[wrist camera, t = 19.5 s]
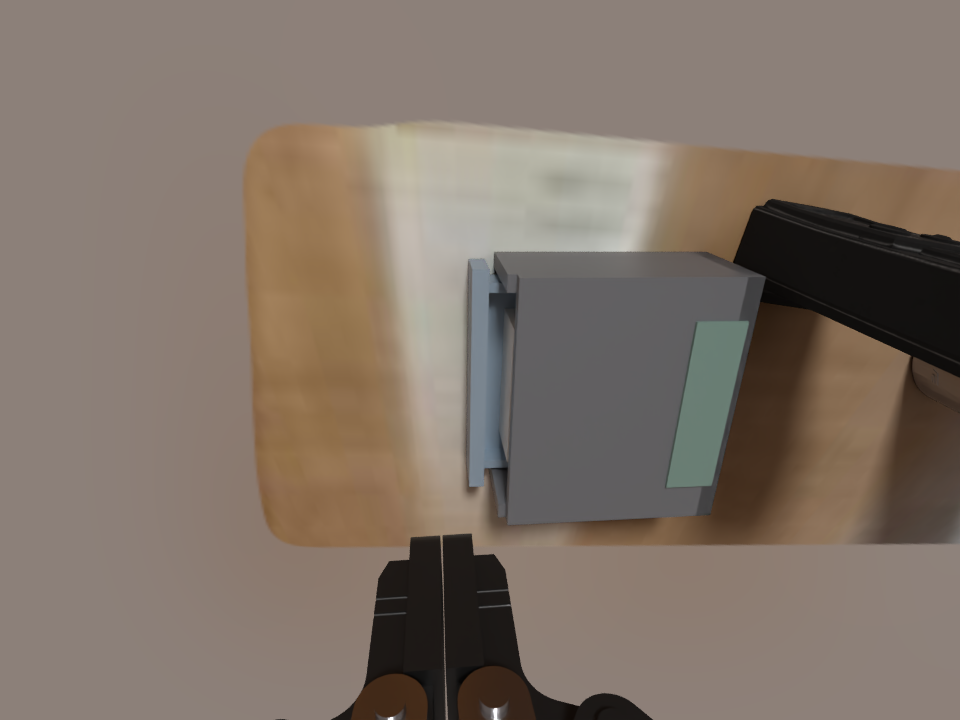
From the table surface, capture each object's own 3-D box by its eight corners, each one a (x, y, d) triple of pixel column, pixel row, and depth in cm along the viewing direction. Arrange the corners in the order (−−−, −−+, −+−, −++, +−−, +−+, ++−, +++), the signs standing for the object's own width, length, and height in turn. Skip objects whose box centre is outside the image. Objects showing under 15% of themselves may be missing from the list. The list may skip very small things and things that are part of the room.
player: (706, 251, 35) (768, 277, 29) (668, 458, 41) (711, 516, 35) (494, 252, 34) (510, 279, 27) (488, 465, 40) (499, 527, 34)
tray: (682, 258, 35) (703, 268, 32) (649, 456, 41) (664, 478, 38) (468, 259, 33) (472, 269, 31) (466, 463, 39) (469, 486, 37)
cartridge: (580, 308, 35) (599, 329, 31) (567, 428, 38) (583, 460, 34) (504, 308, 34) (514, 330, 30) (498, 430, 38) (507, 463, 34)
